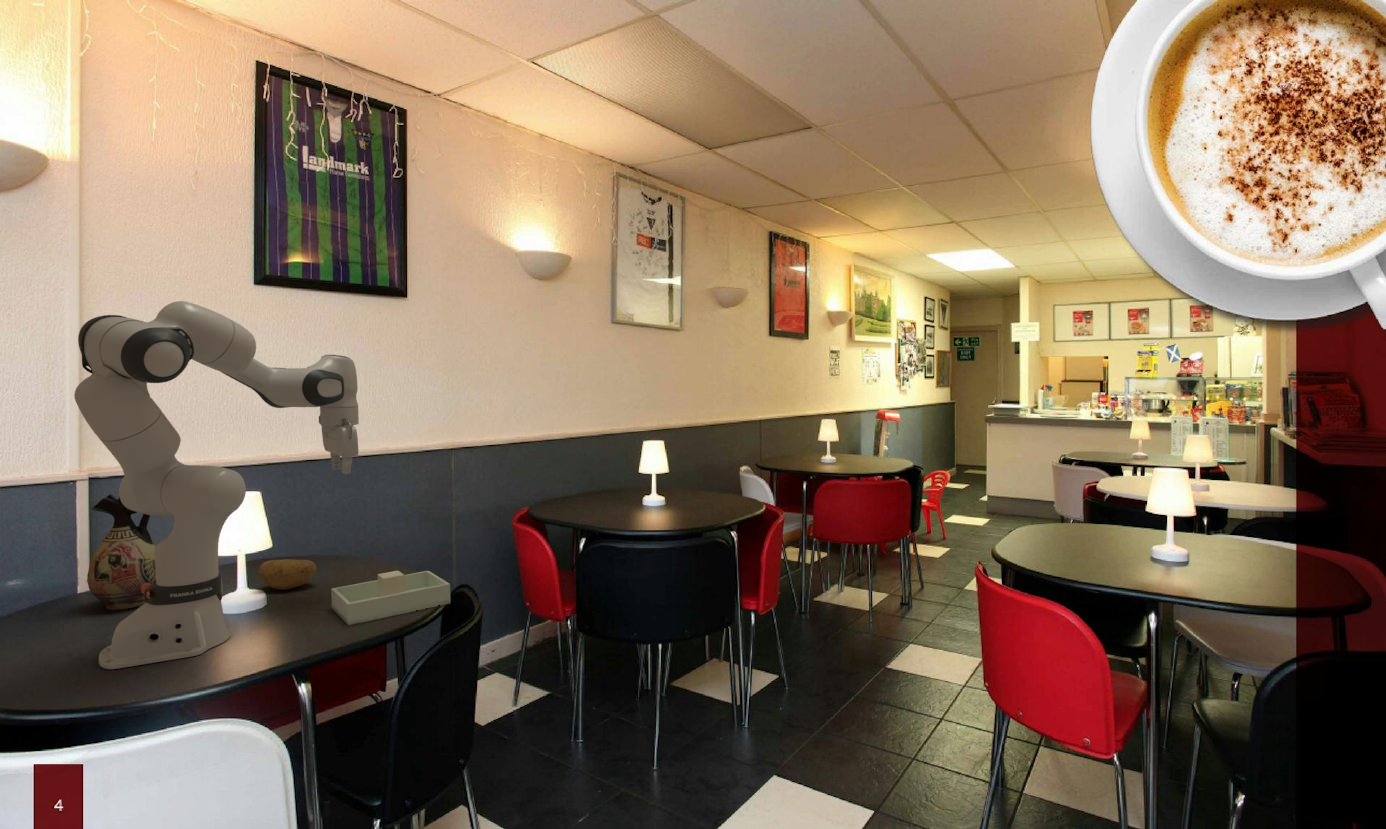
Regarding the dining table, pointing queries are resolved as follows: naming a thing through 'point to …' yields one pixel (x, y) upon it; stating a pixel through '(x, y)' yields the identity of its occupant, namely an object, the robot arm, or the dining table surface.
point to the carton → (391, 583)
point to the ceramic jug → (122, 559)
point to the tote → (389, 598)
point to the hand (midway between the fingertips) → (341, 471)
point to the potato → (286, 573)
